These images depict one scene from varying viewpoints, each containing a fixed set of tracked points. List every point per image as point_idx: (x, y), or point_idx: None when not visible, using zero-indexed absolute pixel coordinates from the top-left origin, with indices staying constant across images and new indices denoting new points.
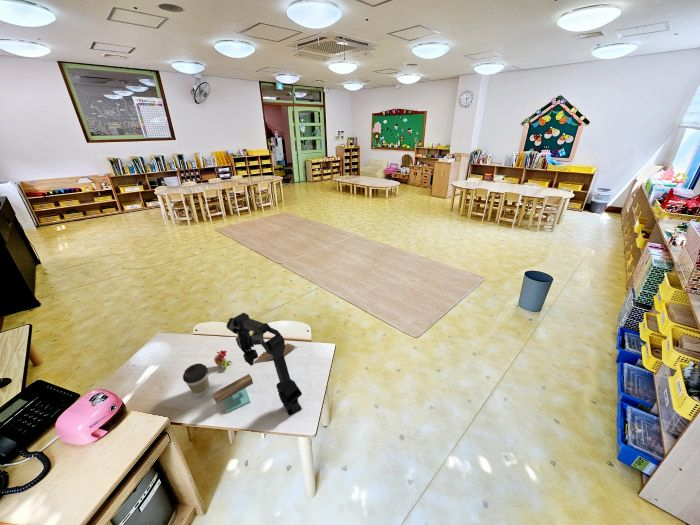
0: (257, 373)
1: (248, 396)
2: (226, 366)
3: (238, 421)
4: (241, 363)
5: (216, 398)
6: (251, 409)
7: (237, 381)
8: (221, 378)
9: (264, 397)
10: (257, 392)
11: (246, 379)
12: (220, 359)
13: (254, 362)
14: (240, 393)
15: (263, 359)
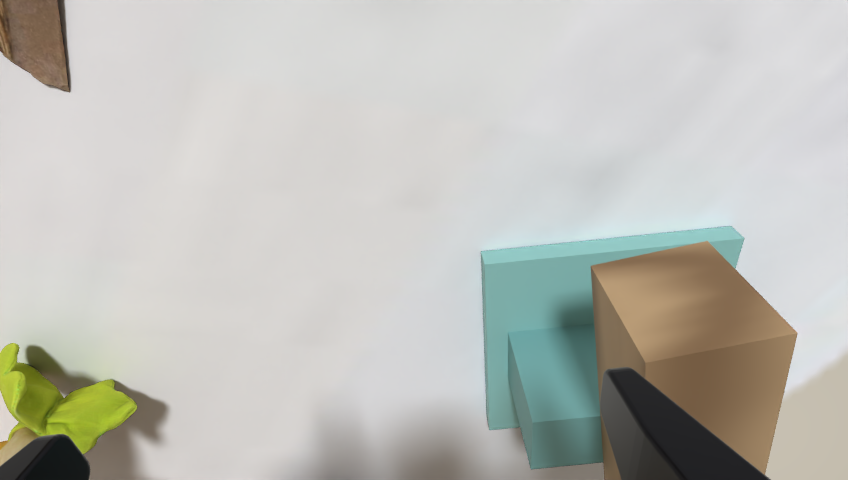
0: (316, 72)
1: (668, 246)
2: (100, 408)
3: (834, 336)
4: (42, 240)
5: None
6: (820, 230)
7: None
8: (246, 415)
9: (799, 68)
10: (655, 135)
11: (749, 406)
12: None
13: (50, 73)
14: (568, 309)
15: None
